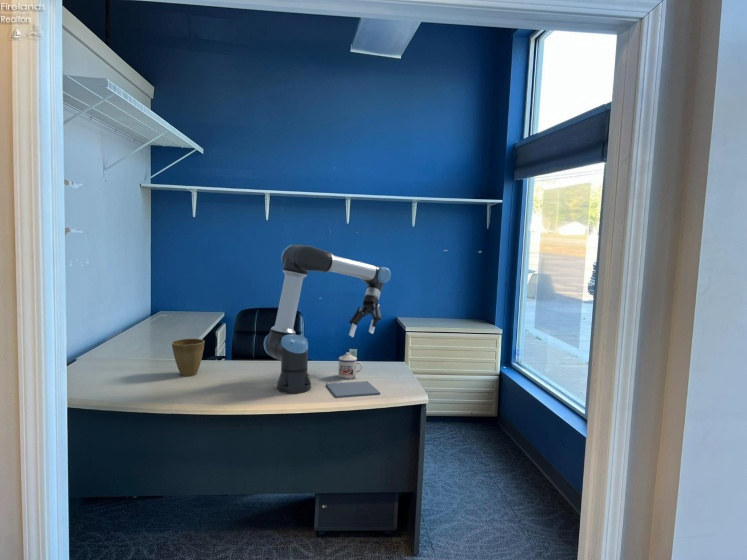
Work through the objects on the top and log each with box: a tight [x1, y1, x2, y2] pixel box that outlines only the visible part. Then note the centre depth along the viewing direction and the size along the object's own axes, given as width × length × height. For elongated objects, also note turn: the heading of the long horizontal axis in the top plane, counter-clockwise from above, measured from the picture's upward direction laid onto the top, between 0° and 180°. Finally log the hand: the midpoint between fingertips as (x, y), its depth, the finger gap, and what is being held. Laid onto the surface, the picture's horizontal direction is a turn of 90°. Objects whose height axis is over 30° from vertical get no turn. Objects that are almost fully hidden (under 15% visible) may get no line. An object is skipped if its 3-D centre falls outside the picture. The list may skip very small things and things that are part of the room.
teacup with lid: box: [337, 352, 363, 379], centre depth 258 cm, size 12×9×12 cm
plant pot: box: [171, 338, 205, 377], centre depth 253 cm, size 15×15×16 cm
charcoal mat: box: [325, 380, 381, 399], centre depth 237 cm, size 20×18×1 cm
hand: (360, 334), depth 260 cm, fingers open, 13 cm apart
